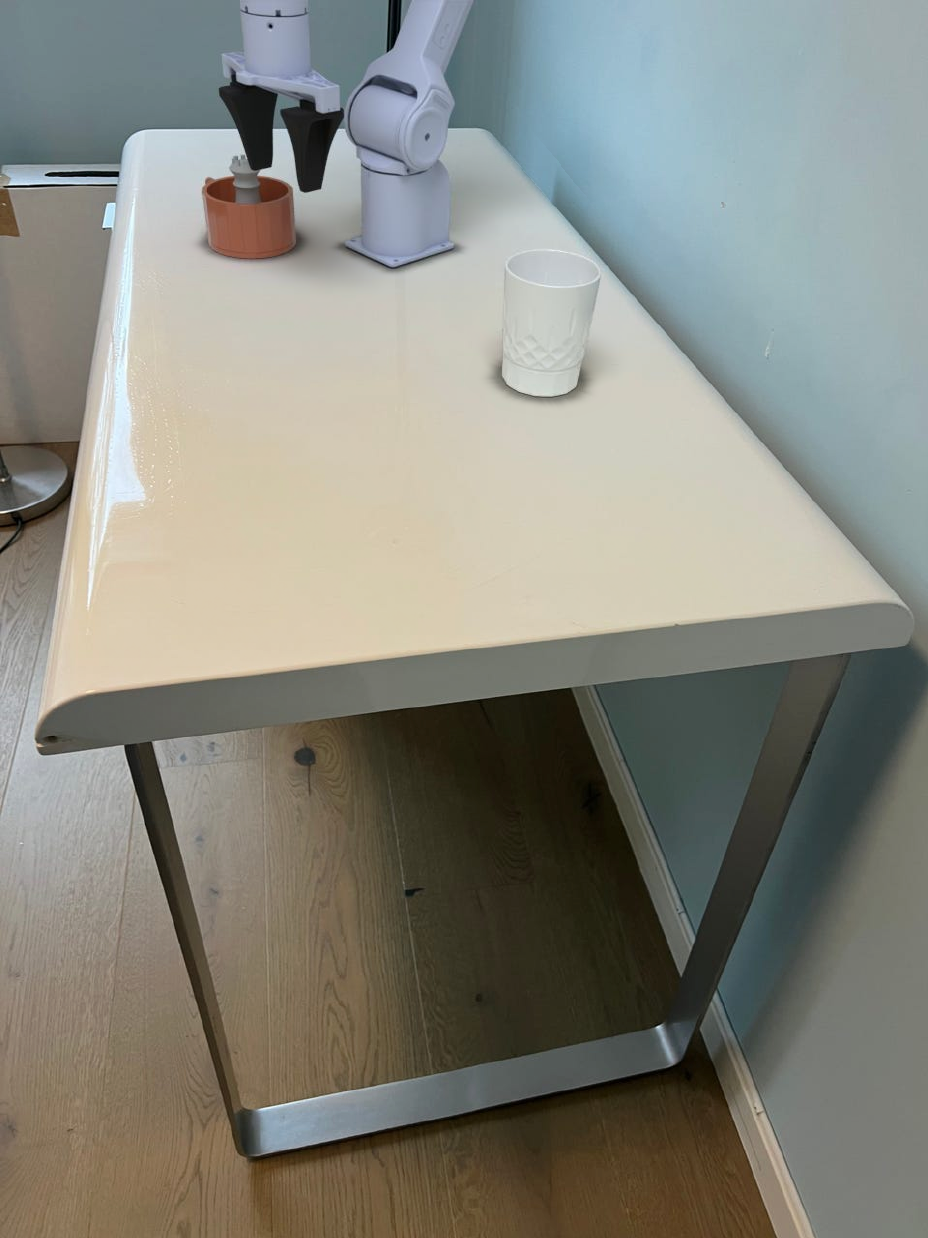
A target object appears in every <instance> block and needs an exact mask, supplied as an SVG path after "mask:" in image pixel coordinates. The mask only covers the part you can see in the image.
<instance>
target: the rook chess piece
mask: <svg viewBox="0 0 928 1238" xmlns="http://www.w3.org/2000/svg"><path fill="white" fill-rule="evenodd" d="M228 169H229V171H230V172H231V174H232V176H234V177H235V181H234V182H233V185H234V186H235V190H236V203H240V204H255V203H261V200H260V196H259V185H260V182H259V181H258V179H257V176H259V173H260V172H261V170H257V171H253V170H251V168H250V166H249V163H248V160H247V157H246V154H240V159H239V156H238V155H233V156H232V157H231V164H230V166H229V167H228Z"/></svg>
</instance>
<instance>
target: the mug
mask: <svg viewBox="0 0 928 1238" xmlns="http://www.w3.org/2000/svg"><path fill="white" fill-rule="evenodd" d="M257 179H258V181H259V182H260V185H259V196H260V200H261V203H255V204H240V203H236V190H235V186H234V185H233V182H234V181H235V177H234V175H231V176H224V177H219V178H213V177H211V176H208V177H206V178H205V180H204V185H203V186H202V188H201V196H202V197H201V198H202V205H203V213H204V221H205V229H206V237H207V242H208V246H209V247H210V248H211V250H213V251H215V252H216V253H218V254H220V255H223V256H225V257H230V258H236V259H247V260H248V259H249V260H252V259H254V260H255V259H265V258H267V259H268V258H272V257H277V256H281V255H284V254H286V253H288V252H290V251H291V250H293V249H294V248H295V246H296V244H297V233H296V217H295V216H296V215H295V202H294V201H295V200H294V188H293V186H292V185H291V184H289V183H288V182H286V181H285V180H282V179H279V178H275V177H270V176H265V175H264V176H263V175H257Z"/></svg>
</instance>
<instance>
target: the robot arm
mask: <svg viewBox="0 0 928 1238" xmlns="http://www.w3.org/2000/svg"><path fill="white" fill-rule="evenodd" d="M474 1H475V0H411V2H410V4H409V7H408V10H407V12H406V14H405V17H404V20H403V22H402V25H401V27H400V30H399V33H398V35H397V37H396V40H395V43H394V46H393V47H392V49H391V50H389V51H388V52H386V53H384V54H383V55H381V56H380V57H378V58H377V59H375V60H374V61H372V62H371V63H370V64H368V66H367V69H366V71H365V74H364V76H363V78H362V80H361V81H360V83H359V84H358V85H357V86H356V87H355V88H354V89H353V90H352V92H351V93H350V95H349V96H348V98H347V100H346V103H345V107H344V108H343V107H341V88H340V85H339V84H336V83H333V82H331V81H330V80H329V79H327V78H326V77H324V76H323V75H322V74H320V73H319V72H317V71H316V70H315V69H314V68H312V64H311V63H312V62H311V44H310V43H311V42H310V41H311V40H310V39H311V38H310V21H309V20H310V18H309V0H239V10H240V11H239V12H240V23H241V33H242V35H241V36H242V45H243V52H241V51H234V52H226V53H221V66H222V74H223V78H225V79H227V80H231V81H229V85H224V86H220V87H219V88H218V96H219V97H220V99H221V100H222V102H223V103H224V105H225V107H226V108H227V110H228V112H229V114H230V116H231V118H232V120H233V123H234V125H235V127H236V130H237V132H238V135H239V138H240V141H241V143H242V147H243V150H244V153H245V157H246V159H247V160H248V163H249V166H250V168H251V170H253V171H257V170H260V171H261V170H265V169H271V168H272V167H273V160H274V120H275V112H276V105H277V100H278V96H283V97H285V98H289V99H291V100H294V101H296V102H299V103H298V104H299V105H298V106H292V107H286V108H281V109H280V110H279V113H280V114H279V115H280V117H281V118H282V121H283V123H284V125H285V128H286V130H287V134H288V137H289V140H290V143H291V148H292V152H293V159H294V167H295V176H296V182H297V186H298V188H299V191H300V192H302V193H304V194H307V193H311V192H316V191H320V190H322V186H323V182H324V176H325V172H326V166H327V162H328V158H329V154H330V150H331V147H332V145H333V141H334V140H335V139H334V138H335V136H336V134H337V132H338V130H339V128H340V126H341V124H342V122H343V127H344V130H345V133H346V136H347V138H348V140H349V141H350V143H351V144H353V146H354V147H355V151H356V154H355V156H356V158H357V159H359V160H360V196H361V197H360V205H361V206H360V209H361V212H360V213H361V236H358V237H354V238H351V239H347V240H345V241H344V245H345V247H347V248H349V249H351V250H353V251H356V252H357V253H359V254H362V255H364V256H366V257H367V258H370V259H373V260H375V261H377V262H379V263H381V264H384V265H386V266H388V267H390V268H396V267H399V266H402V265H405V264H408V263H411V262H415V261H417V260H421V259H424V258H427V257H430V256H433V255H437V254H440V253H442V252H446V251H449V250H452V249H454V247H455V243H454V242H452V241H451V240H450V223H451V221H450V220H451V201H452V183H451V178H450V175H449V173H448V172H449V171H448V170H447V168H446V166H445V165H444V163H442V161H440V158H441V156H442V154H443V152H444V149H445V147H446V143H447V139H448V131H449V123H450V118H451V116H452V113H453V110H454V108H455V105H456V102H455V100H454V97H453V95H452V92H451V90H450V88H449V86H448V83H447V81H446V79H445V73H446V70H447V68H448V66H449V64H450V61H451V58H452V56H453V53H454V51H455V48H456V46H457V43H458V41H459V38H460V36H461V34H462V31H463V29H464V26H465V24H466V21H467V19H468V17H469V13H470V11H471V9H472V6H473V4H474Z"/></svg>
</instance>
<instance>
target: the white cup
mask: <svg viewBox="0 0 928 1238" xmlns="http://www.w3.org/2000/svg"><path fill="white" fill-rule="evenodd" d="M601 278H602V268H601V267H600V266H599V264H598V263H596V262H595V261H594V260H592V259H591V258H589V257H586V256H585V255H582V254H579V253H576V252H572V251H567V250H562V249H555V248H554V249H553V248H552V249H551V248H534V249H527V250H523V251H519V252H516V253H514V254H512V255H510V256H509V257H508V258H506V261H505V262H504V280H503V284H504V285H503V305H502V338H501V340H502V342H501V343H502V351H503V352H502V365H501V377H502V378H503V380H504V382H505V384H506V385H507V386H508V387H510V388H511V389H513V390H514V391H516V392H519V393H520V394H521V393H522V394H526V395H529V396H533V397H542V398H543V397H544V398H545V397H550V398H551V397H552V398H553V397H557V396H558V397H559V396H562V395H566V394H568V393H570V392H571V391H572V390H574V389H575V388H576V387H577V385H578V381H579V376H580V372H581V367H582V363H583V358H584V357H585V354H586V349H587V345H588V342H589V336H590V331H591V327H592V324H593V319H594V313H595V307H596V302H597V298H598V292H599V287H600V283H601Z"/></svg>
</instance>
